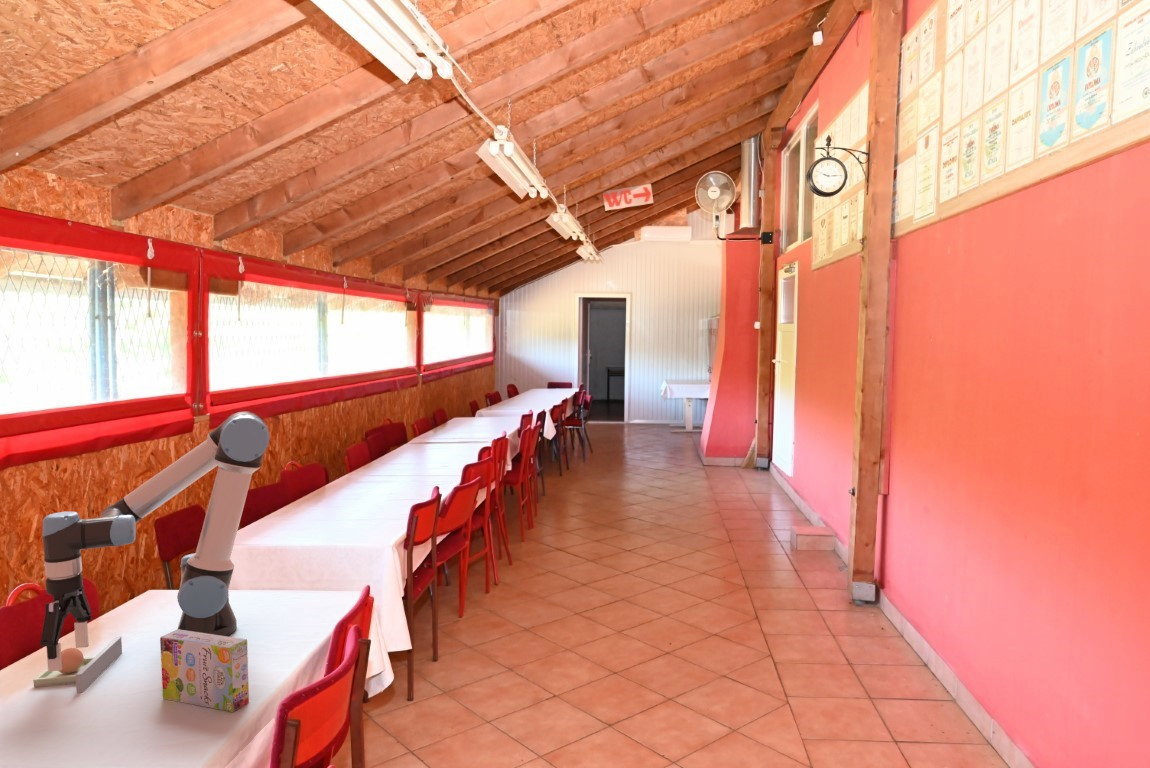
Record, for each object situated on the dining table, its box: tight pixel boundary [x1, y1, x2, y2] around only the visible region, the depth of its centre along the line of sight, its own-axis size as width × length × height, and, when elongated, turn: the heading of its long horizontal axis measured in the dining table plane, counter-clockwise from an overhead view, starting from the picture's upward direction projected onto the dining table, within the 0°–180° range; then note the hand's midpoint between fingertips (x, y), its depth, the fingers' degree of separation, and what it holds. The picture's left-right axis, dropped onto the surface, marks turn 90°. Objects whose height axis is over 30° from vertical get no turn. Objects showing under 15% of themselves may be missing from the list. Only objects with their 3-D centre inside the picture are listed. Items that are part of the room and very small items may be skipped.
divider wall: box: [75, 636, 123, 694], centre depth 185 cm, size 1×22×4 cm, turn 10°
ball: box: [59, 647, 85, 674], centre depth 184 cm, size 6×6×6 cm
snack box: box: [159, 628, 250, 713], centre depth 170 cm, size 21×6×15 cm, turn 71°
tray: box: [33, 656, 95, 688], centre depth 184 cm, size 11×11×2 cm
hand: (69, 658), depth 184 cm, fingers open, 13 cm apart
